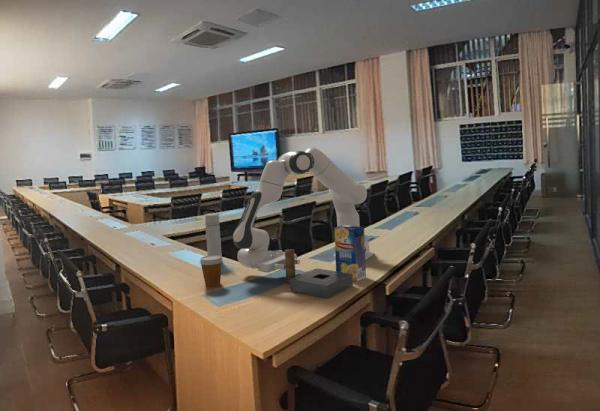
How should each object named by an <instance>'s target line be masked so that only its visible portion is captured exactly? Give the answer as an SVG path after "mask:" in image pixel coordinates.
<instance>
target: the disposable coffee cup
mask: <svg viewBox="0 0 600 411" xmlns="http://www.w3.org/2000/svg"><path fill="white" fill-rule="evenodd" d="M199 263H200V266H201V270H202V275H203V279H204V285H205V287H207V288H213V287H217V286H220V285H221V276H222V263H223V258H221V256H219V255H210V256H208V255H205V256H202V257H200V260H199Z"/></svg>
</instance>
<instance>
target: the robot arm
mask: <svg viewBox="0 0 600 411" xmlns="http://www.w3.org/2000/svg"><path fill="white" fill-rule="evenodd" d="M308 172H310V173H311V175H313V176H314V178H316V179H317V180H318V182H319V183H321V184H322V185H323V186H324V187H326V188H327V189H328V196H329V197H330V199H331V200H332V203H333V206H334V210H335V214H336V222H337V223H336V224H337V226H336V227H338V226H343V225H348V226H358V227H361V226H360V214H359V213H358V211H357V210H356V206H355V205H360V204H362V203H364V202H365V201H366V199H367V196H368V190H367V189H366V186H364V185H363V184H361V183H359V182H358V181H356V180H355V179H354V178H353V177H351V176H350V175H349V174H347V173H346V172H344V171H343V170H342V169H341V168H339V167H338V166H337V165H336V164H335V163H334V162H333V160H331V158H329V157H328V156H327V155H326V154H325V153H324V152H323V151H322V150H320V149H319V148H316V147H309V148H307V149H306V150H305V151H303V150H291V151H287V152H283V153H282V154H281V155H280V156H278V158H277V159H276V160H275V159H273V160H269V161H268V162H266V163H265V166H264V169H263V171H262V173H261V176H260V179H259V183H258V185H257V188H256V189H255V191H254V192H252V193H251V194H250V196H249V198H248V199H247V203H246V205H245V208H244V209H243V211H242V212H243V213H242V215H241V217H240V219H239V221H238V224H237V226H236V228H235V229H234V231H233V233H232V241H233V244H234V246H235V247H236V248H238V249H239V250H238V251H237V257H236V258H237V261H238V263H239V265H241V266H243V267H244V268H248V269H255V270H256V269H257V271H259V272H264V273H271V272H274V271H276V270H282V271H283V270H286V265H285V251H283V250H280V249H276V250H269V246H270V243H271V241H270V240H271V239H270V235H269V232H268V231H266V230H265V229H260V228H255V227H253V226H254V222H255V220H256V217H257V215H258V212H259V210H260V209H261V208H262V207H264V206H266V205H271V204H275V203H276V202H278V201H279V200H280V198H281V196H282V193H283V190H284V186H285V181H286V179H287V177H288V176H289V175H291V176H296V175H297V176H298V175H303V174H304V175H305V174H306V173H308ZM373 254H375V252H374V251H371V250H370V244H369V242H368V241H366V240H365V261H367V260H368V259H370V258H371V257H373V256H374V255H373ZM294 256H295V265H299V264H301V262H300V260H301V259H298V255H297V254H296V253H294ZM333 257H334V259H335V260H336V257H335V253H334V254H333Z"/></svg>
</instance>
